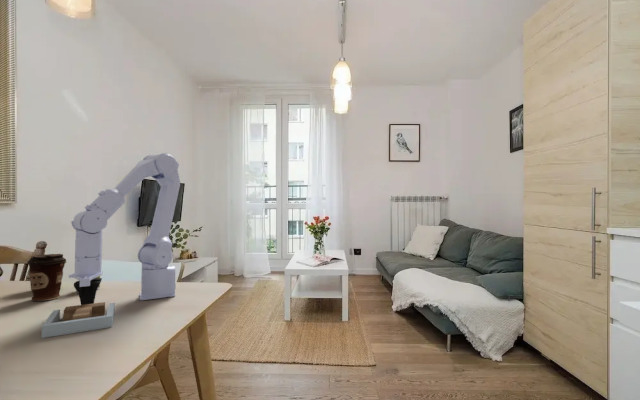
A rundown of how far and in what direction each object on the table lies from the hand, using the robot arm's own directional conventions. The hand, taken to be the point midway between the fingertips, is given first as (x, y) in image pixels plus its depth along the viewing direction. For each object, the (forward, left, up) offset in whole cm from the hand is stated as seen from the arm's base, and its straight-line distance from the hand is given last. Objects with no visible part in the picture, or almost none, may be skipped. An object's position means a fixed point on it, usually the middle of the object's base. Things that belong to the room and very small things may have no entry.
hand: (87, 307), depth 82 cm
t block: (0, +8, -1) cm, 8 cm away
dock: (0, +10, -1) cm, 10 cm away
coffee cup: (+12, -19, -1) cm, 23 cm away
